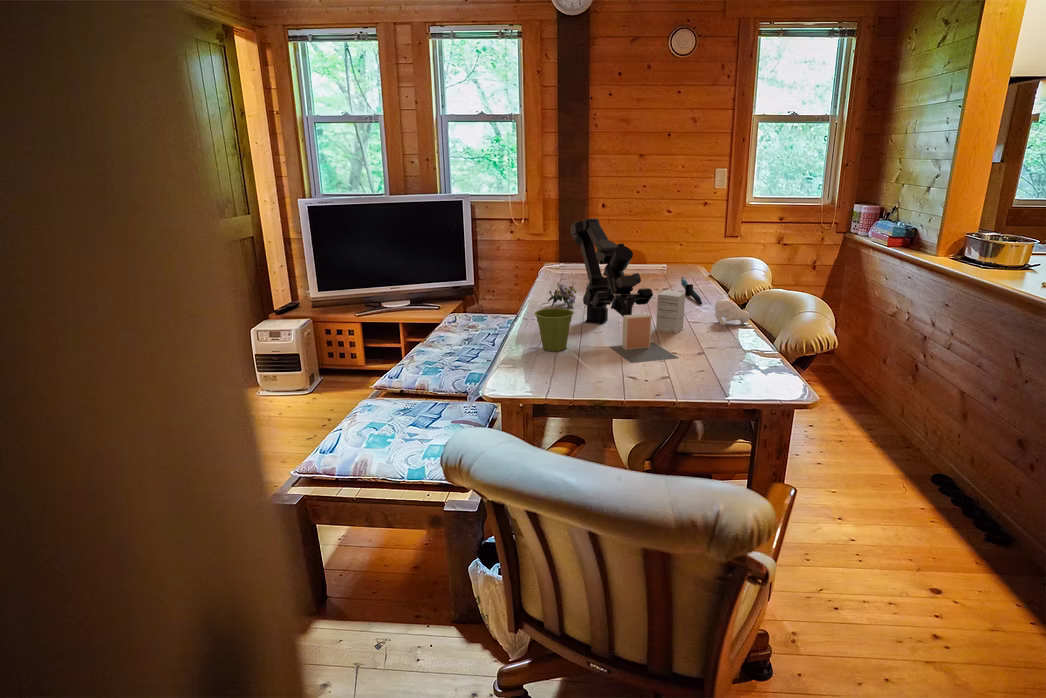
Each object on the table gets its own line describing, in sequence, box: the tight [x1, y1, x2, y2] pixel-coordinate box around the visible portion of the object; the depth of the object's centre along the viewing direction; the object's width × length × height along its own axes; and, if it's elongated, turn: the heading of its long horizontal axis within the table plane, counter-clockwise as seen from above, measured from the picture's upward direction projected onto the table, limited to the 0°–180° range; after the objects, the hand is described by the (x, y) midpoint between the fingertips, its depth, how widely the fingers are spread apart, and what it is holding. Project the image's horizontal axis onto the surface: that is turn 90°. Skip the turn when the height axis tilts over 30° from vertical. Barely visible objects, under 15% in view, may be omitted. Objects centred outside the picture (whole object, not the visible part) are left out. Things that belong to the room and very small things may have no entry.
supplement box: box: [655, 290, 686, 334], centre depth 204 cm, size 7×7×13 cm
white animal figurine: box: [714, 298, 751, 326], centre depth 211 cm, size 6×8×12 cm
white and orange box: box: [621, 313, 652, 350], centre depth 185 cm, size 3×8×10 cm, turn 105°
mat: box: [609, 342, 679, 364], centre depth 182 cm, size 16×15×1 cm
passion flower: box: [547, 282, 577, 309], centre depth 237 cm, size 11×11×12 cm
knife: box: [680, 276, 703, 306], centre depth 251 cm, size 31×3×4 cm, turn 177°
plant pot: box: [534, 307, 575, 352], centre depth 186 cm, size 12×12×11 cm
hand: (629, 320), depth 190 cm, fingers closed
